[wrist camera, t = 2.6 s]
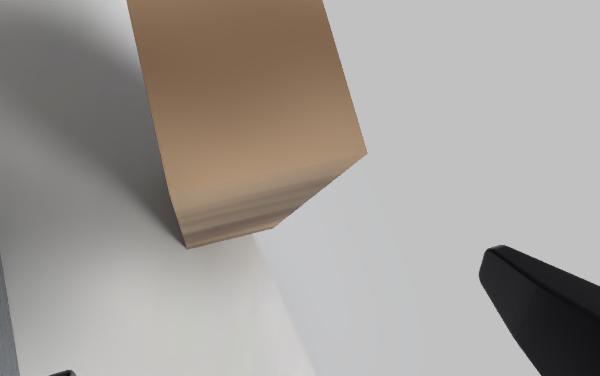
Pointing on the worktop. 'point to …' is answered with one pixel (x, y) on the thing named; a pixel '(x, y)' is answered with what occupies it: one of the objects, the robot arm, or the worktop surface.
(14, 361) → the block
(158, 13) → the walnut peg
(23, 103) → the worktop surface
